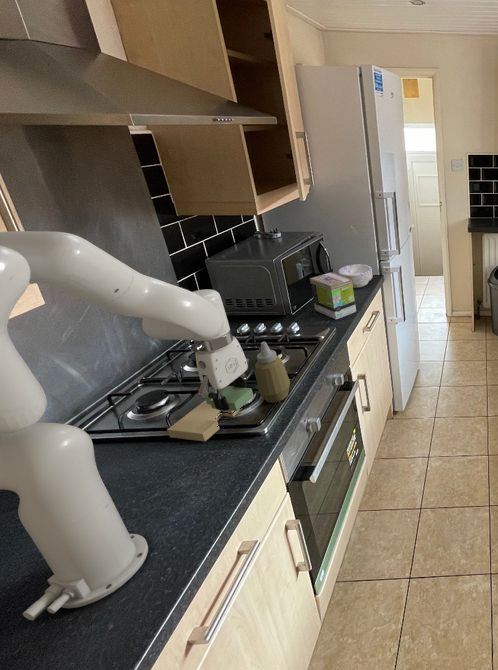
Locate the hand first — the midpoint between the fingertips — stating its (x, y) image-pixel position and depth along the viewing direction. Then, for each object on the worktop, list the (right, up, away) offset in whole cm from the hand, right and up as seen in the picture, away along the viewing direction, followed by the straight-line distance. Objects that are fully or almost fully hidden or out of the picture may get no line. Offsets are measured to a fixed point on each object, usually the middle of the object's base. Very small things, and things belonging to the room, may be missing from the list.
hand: (232, 400), depth 107 cm
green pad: (-1, 0, 0) cm, 1 cm away
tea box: (-1, +19, +66) cm, 69 cm away
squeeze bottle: (+4, -3, +14) cm, 14 cm away
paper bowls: (-3, +30, +94) cm, 98 cm away
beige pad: (-9, -7, +4) cm, 12 cm away
